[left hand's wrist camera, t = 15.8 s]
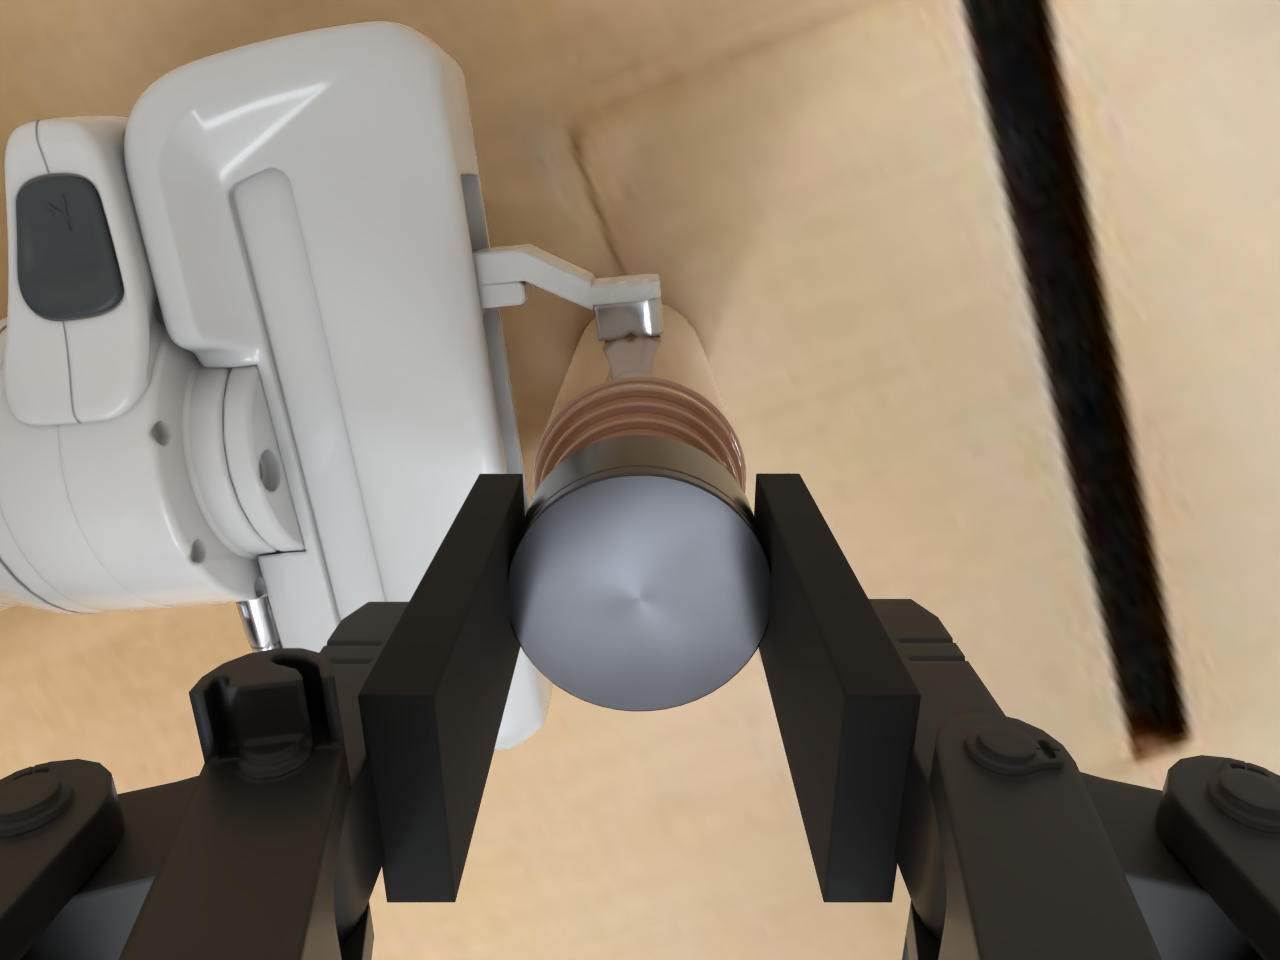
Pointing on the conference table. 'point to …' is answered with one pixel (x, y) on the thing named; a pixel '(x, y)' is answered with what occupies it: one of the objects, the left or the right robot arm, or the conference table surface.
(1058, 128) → the conference table surface
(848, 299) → the conference table surface
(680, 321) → the bottle
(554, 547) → the cap
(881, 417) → the conference table surface
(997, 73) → the conference table surface
